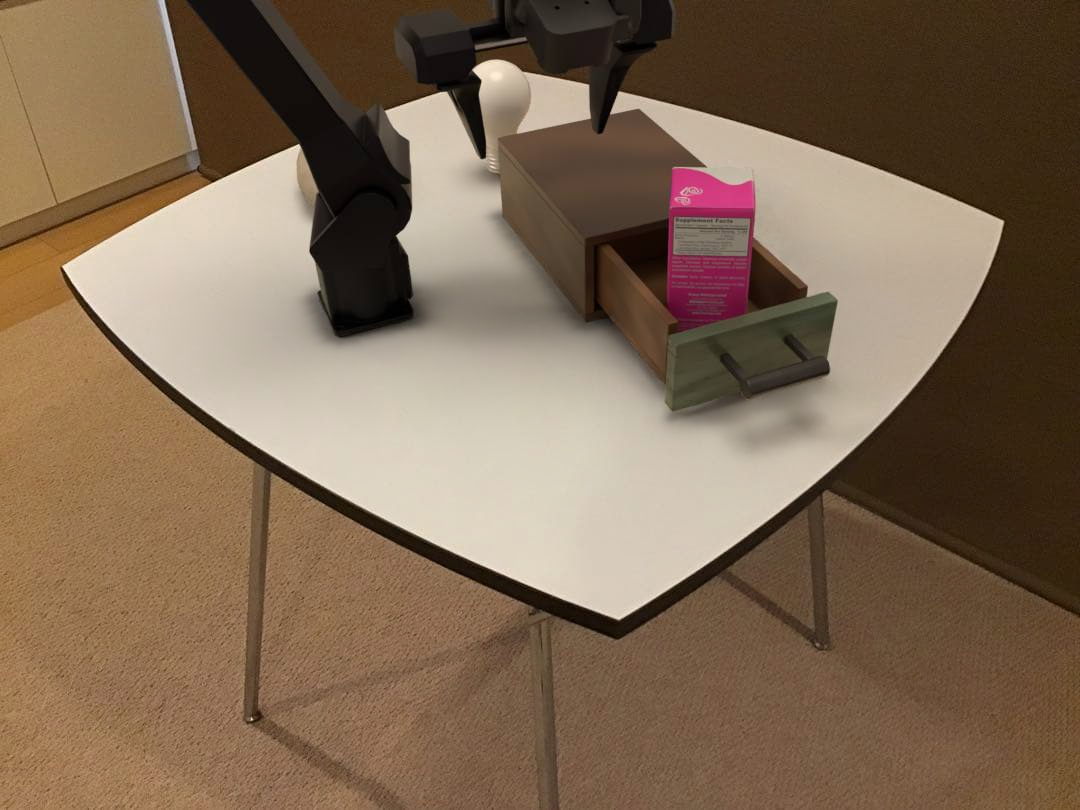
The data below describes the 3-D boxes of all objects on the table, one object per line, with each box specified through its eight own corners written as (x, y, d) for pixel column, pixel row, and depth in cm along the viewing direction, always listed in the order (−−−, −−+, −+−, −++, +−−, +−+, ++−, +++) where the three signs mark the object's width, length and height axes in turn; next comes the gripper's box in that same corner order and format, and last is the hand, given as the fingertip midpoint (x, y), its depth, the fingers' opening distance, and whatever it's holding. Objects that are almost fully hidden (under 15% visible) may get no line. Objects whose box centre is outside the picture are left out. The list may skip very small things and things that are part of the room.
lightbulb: (511, 194, 98) (504, 81, 90) (456, 179, 100) (445, 68, 93) (546, 166, 102) (542, 56, 95) (492, 152, 104) (485, 44, 97)
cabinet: (737, 282, 85) (746, 199, 80) (585, 323, 81) (584, 238, 76) (636, 184, 98) (639, 108, 93) (502, 215, 95) (497, 137, 90)
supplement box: (665, 300, 80) (672, 163, 72) (743, 303, 79) (758, 165, 72) (662, 345, 75) (669, 204, 68) (744, 349, 75) (761, 207, 67)
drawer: (862, 401, 71) (876, 333, 68) (702, 451, 68) (709, 382, 64) (706, 250, 87) (711, 188, 83) (570, 284, 84) (569, 221, 80)
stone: (303, 207, 91) (267, 120, 97) (332, 248, 97) (296, 164, 103) (362, 177, 91) (322, 92, 97) (387, 220, 97) (348, 137, 103)
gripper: (430, -24, 58) (454, 222, 68) (724, -71, 63) (706, 164, 73) (378, -74, 66) (406, 152, 76) (642, -113, 71) (636, 104, 81)
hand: (540, 144), depth 76 cm, fingers open, 9 cm apart
